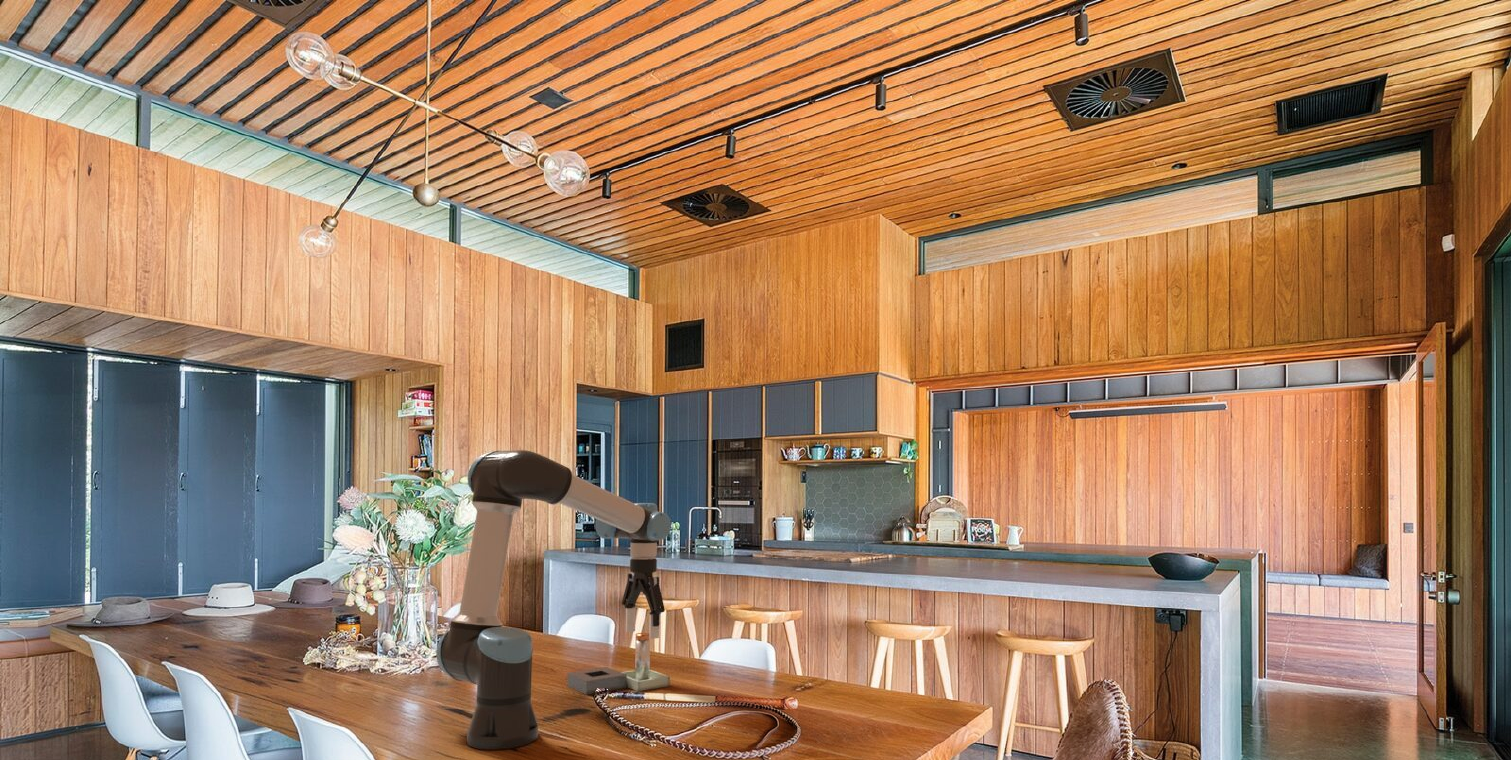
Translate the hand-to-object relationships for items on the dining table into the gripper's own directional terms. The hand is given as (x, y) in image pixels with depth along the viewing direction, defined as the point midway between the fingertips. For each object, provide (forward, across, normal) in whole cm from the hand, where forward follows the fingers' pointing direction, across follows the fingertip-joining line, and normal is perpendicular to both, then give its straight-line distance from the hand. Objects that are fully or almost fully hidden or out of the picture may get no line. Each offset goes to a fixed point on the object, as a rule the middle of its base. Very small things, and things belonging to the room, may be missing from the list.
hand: (641, 634), depth 238 cm
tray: (+13, 0, -1) cm, 13 cm away
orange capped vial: (+13, 0, 0) cm, 13 cm away
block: (+14, +5, +11) cm, 18 cm away
